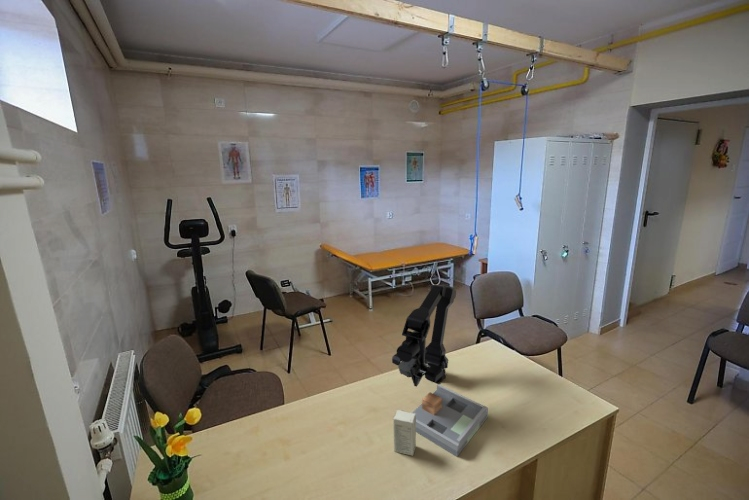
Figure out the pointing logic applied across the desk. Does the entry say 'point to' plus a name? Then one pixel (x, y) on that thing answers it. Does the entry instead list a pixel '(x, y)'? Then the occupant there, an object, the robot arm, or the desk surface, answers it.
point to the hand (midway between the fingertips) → (416, 385)
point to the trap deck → (451, 421)
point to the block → (431, 403)
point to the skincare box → (404, 432)
